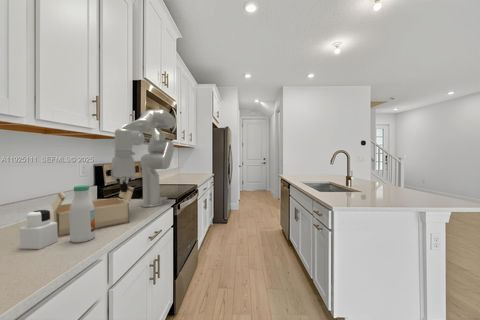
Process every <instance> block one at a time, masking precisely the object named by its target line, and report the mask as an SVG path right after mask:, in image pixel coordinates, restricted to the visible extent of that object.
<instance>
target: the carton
mask: <svg viewBox="0 0 480 320" xmlns="http://www.w3.org/2000/svg"><path fill="white" fill-rule="evenodd" d="M92 202H93V205H94V212H95V230H97V229H102V228H107V227H113V226H116V225H117V226H118V225H122V224H127V223H130V204H129V201H127V200H125V199H123V198H121V197H111V198H102V199H97V200H96V199H95V200H92ZM70 206H71V203H64V204H61V205H60V206H59V208H58V209H57V211H56V212H54V211H53V222H57V234H58V237H62V236H67V235H70V222H69V211H70Z"/></svg>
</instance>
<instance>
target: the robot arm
mask: <svg viewBox="0 0 480 320" xmlns="http://www.w3.org/2000/svg"><path fill="white" fill-rule="evenodd" d="M175 126H176V119H175V117H174V115H172V114H171V113H170V112H169V111H167V110H164V109H163V108H162V109H148V110H146V111H144V113H142V115H140V117H138V118H137V119H135V120H134V121H131V122H129V123H126V124H123V126H121V127H120V128H117V129H116V130H115V131H114V157H112V158H111V159H112V160H111V168H110V170H111V171H110V176H111V177H110V181H114V182H115V181H116V182H117V183H118V184H119V192H120V191H121V192H126V190H127V186H128V183H130V182H131V181H132V180H135V179H136V166H135V165H136V163H135V158H134V157H133V156H135V155H136V152H133V146H141V145H142V144H144V143H145V141H146V140H145V135H144V134H145V133H148V132H149V131H151V136H150V139H149V142H148V145H147V152H148V153H145V154H143V155H142V156H141V158H140V160H139V161H140V163H139V164H140V167H141V171H142V172H141V173H142V202H141V203H140V204H139V205H140V206H139V207H142V208H152V207H153V208H154V207H159V206H162V205H163V201H167V200H168V197H167V196H160V174H159V173H158V171H157V170H167V169H169V168H170V167H171V162H172V159H173V155H174V151H175V146H174V143H173V141H171V140H169V139H166V135H165V133H164V132H163V131H162V129H173V128H174V127H175ZM123 178H124V180H123Z"/></svg>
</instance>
